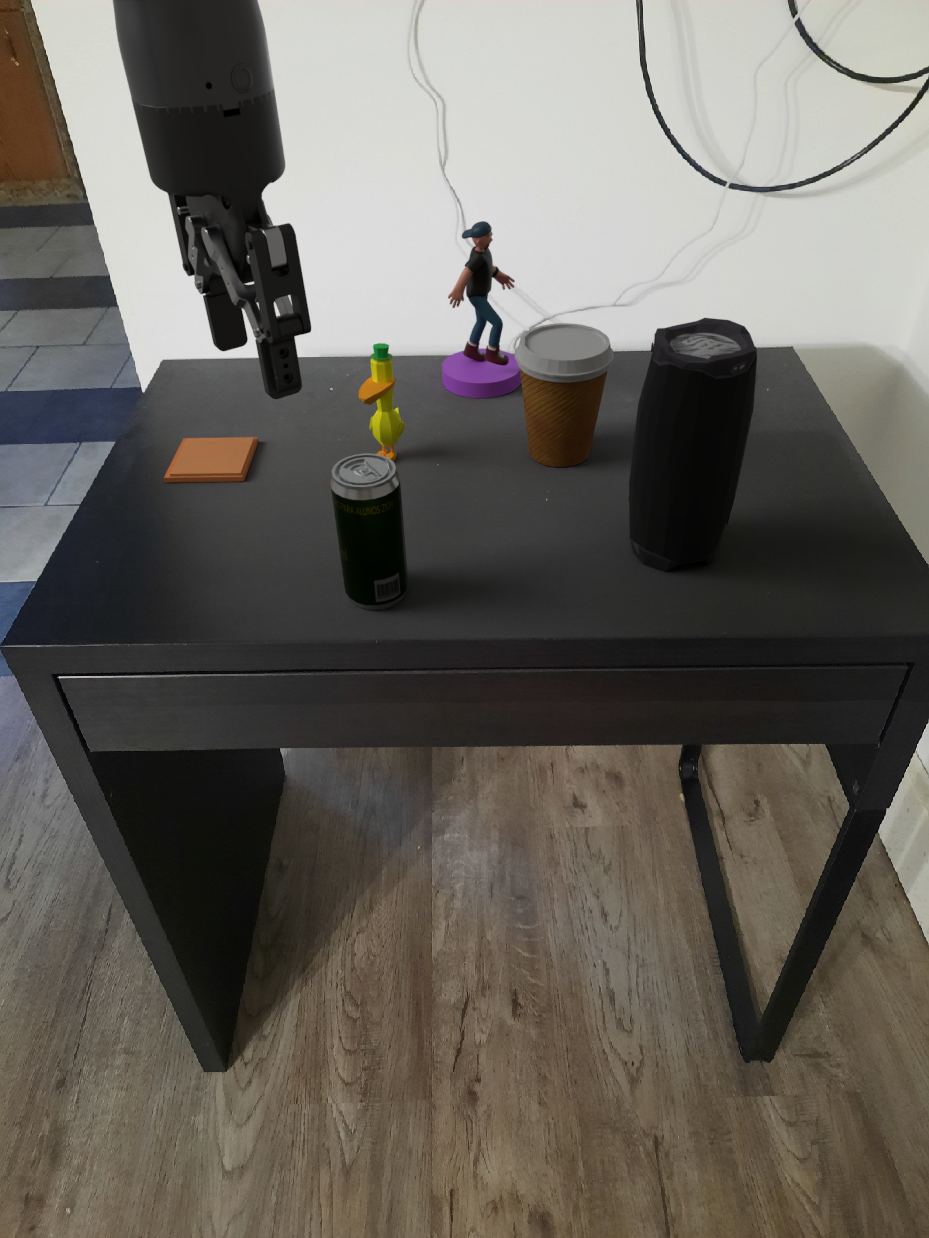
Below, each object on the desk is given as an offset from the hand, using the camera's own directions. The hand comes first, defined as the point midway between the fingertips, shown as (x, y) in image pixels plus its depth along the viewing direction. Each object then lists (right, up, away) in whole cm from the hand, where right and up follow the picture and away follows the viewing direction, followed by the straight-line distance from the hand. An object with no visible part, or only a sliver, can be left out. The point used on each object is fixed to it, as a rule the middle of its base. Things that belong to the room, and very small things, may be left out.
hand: (257, 369), depth 59 cm
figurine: (+16, +12, +48) cm, 52 cm away
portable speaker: (+32, -10, +22) cm, 40 cm away
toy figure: (+5, 0, +35) cm, 35 cm away
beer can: (+6, -14, +18) cm, 24 cm away
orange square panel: (-13, 0, +35) cm, 37 cm away
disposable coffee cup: (+23, +1, +35) cm, 42 cm away
